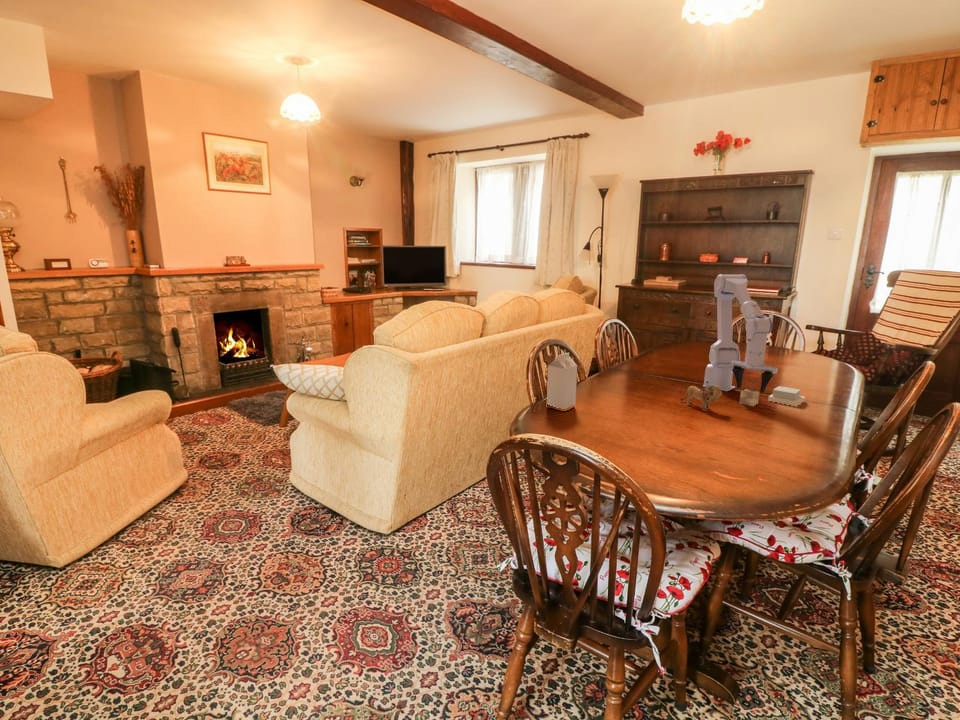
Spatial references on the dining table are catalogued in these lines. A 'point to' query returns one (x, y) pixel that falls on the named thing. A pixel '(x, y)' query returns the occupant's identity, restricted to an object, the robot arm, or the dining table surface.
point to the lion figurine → (703, 395)
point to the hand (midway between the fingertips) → (750, 389)
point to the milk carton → (562, 382)
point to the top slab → (786, 393)
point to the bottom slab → (787, 400)
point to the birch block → (749, 397)
